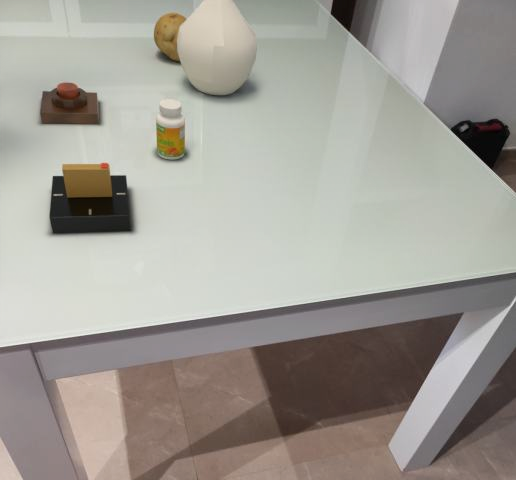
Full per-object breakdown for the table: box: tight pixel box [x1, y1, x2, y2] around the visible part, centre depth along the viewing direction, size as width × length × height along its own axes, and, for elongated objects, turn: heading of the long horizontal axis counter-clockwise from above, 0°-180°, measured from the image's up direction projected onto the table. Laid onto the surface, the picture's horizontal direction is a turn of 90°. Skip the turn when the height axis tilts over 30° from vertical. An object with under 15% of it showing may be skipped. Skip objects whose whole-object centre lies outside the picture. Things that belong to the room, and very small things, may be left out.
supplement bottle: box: [155, 98, 186, 161], centre depth 97 cm, size 5×5×10 cm
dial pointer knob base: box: [49, 174, 132, 234], centre depth 84 cm, size 12×12×3 cm
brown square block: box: [39, 87, 100, 125], centre depth 106 cm, size 11×10×4 cm
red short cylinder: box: [56, 81, 79, 98], centre depth 104 cm, size 4×4×2 cm
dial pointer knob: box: [61, 162, 112, 198], centre depth 81 cm, size 7×2×5 cm, turn 102°
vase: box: [177, 0, 258, 96], centre depth 113 cm, size 18×18×30 cm
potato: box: [153, 12, 187, 62], centre depth 130 cm, size 10×12×10 cm
